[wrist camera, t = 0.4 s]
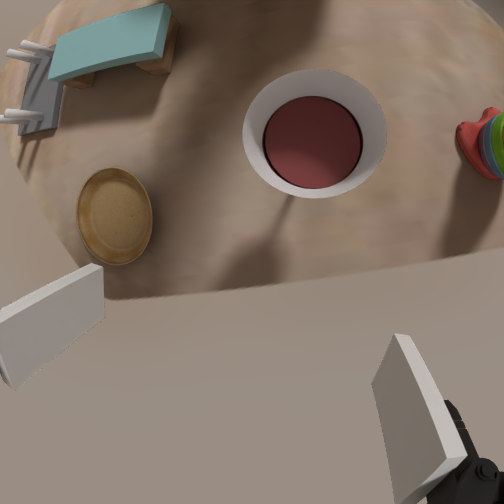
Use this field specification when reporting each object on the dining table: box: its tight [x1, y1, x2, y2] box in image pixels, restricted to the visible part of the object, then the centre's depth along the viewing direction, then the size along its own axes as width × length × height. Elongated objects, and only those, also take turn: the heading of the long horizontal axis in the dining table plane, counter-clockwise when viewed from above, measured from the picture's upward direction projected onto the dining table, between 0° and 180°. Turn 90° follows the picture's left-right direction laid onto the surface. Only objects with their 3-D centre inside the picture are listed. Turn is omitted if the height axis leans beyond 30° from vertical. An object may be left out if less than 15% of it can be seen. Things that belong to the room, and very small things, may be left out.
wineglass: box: [242, 69, 387, 198], centre depth 25 cm, size 8×9×20 cm
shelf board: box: [48, 3, 172, 82], centre depth 29 cm, size 20×8×2 cm, turn 85°
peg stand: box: [0, 40, 64, 136], centre depth 33 cm, size 18×12×10 cm, turn 175°
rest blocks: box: [61, 15, 180, 89], centre depth 32 cm, size 9×18×5 cm, turn 85°
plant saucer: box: [76, 167, 153, 266], centre depth 40 cm, size 15×15×3 cm
